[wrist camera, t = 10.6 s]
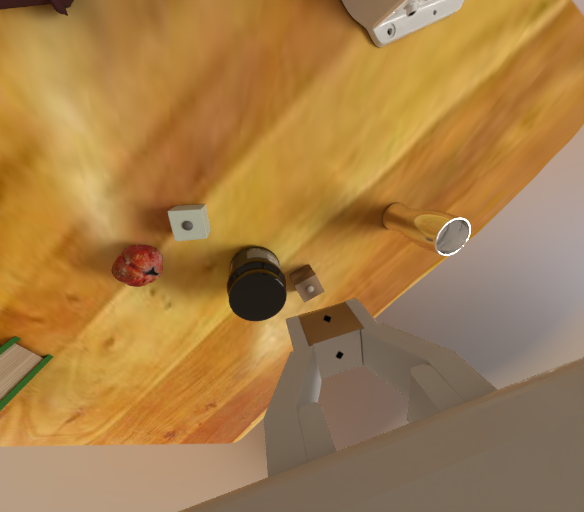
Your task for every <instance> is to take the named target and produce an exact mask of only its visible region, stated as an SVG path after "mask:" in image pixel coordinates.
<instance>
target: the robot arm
mask: <svg viewBox="0 0 584 512" xmlns="http://www.w3.org/2000/svg"><path fill="white" fill-rule="evenodd" d="M342 2H343V4H344V6H345V8H346V9H347V11H348V12H349V14H350V15H351V16H352V17H353V18H354V19H355V20H356V21H357V22H358V23H360V24H361V25H362V26H363V27H365V28H366V30H367V31H368V33H369V35H370V37H371V39H372V40H373V42H374V44H375V45H376V46H378V47H383V46H385V45H387V44H389V43H392V42H394V41H396V40H398V39H400V38H402V37H405V36H407V35H409V34H411V33H413V32H416V31H418V30H420V29H422V28H424V27H426V26H429V25H431V24H433V23H435V22H437V21H440V20H442V19H444V18H446V17H448V16H450V15H452V14H454V13H455V12H456V11H458V10H459V9H460V8H461V6H462V4H463V2H464V0H342ZM387 31H389V33H390V35H388V33H387ZM286 323H287V327H288V330H289V334H290V338H291V342H292V345H293V349H294V351H293V352H290V354H289V357H288V359H287V362H286V364H285V367H284V369H283V372H282V374H281V377H280V379H279V382H278V384H277V387H276V389H275V392H274V394H273V396H272V399H271V401H270V404H269V406H268V409H267V411H266V414H265V416H264V427H265V428H264V429H265V442H266V455H267V469H268V478H265V479H263V480H260V481H258V482H255V483H252V484H250V485H247V486H245V487H242V488H239V489H237V490H234V491H231V492H229V493H226V494H224V495H221V496H218V497H216V498H213V499H211V500H208V501H205V502H202V503H200V504H197V505H195V506H192V507H190V508H187V509H184V510H182V511H179V512H584V357H582V358H579V359H577V360H574V361H572V362H569V363H566V364H564V365H561V366H559V367H556V368H553V369H551V370H548V371H546V372H543V373H540V374H538V375H535V376H532V377H530V378H527V379H525V380H522V381H519V382H517V383H514V384H511V385H509V386H506V387H504V388H501V389H498V390H497V389H496V388H495V387H494V386H493V385H492V384H491V383H489V382H488V381H487V380H486V379H485V378H484V377H483V376H482V375H481V374H479V373H478V372H477V371H476V370H475V369H474V368H473V367H472V366H470V365H469V364H468V363H467V362H466V361H465V360H464V359H463V358H461V357H460V356H459V355H458V354H457V353H456V352H454V351H452V350H450V349H447V348H445V347H442V346H440V345H437V344H434V343H432V342H429V341H427V340H424V339H422V338H419V337H417V336H414V335H412V334H409V333H407V332H404V331H402V330H399V329H397V328H394V327H392V326H389V325H387V324H384V323H380V324H378V323H377V321H376V320H375V319H374V318H373V317H372V316H371V314H370V313H369V312H368V311H367V310H366V308H365V307H364V306H363V305H362V304H361V303H360V301H359V300H358V299H357V298H353V299H350V300H347V301H344V302H341V303H338V304H335V305H332V306H328V307H325V308H322V309H319V310H315V311H311V312H308V313H304V314H301V315H298V316H294V317H291V318H287V319H286ZM362 365H364V367H366V368H367V369H368V370H370V371H371V372H372V373H374V374H375V375H377V376H378V377H380V378H381V379H382V380H384V381H385V382H387V383H388V384H389V385H391V386H392V387H394V388H395V389H397V390H398V391H399V392H401V393H402V394H404V395H405V396H407V397H408V398H409V401H408V414H407V420H408V422H409V424H407V425H404V426H401V427H399V428H396V429H393V430H391V431H389V432H386V433H383V434H380V435H378V436H375V437H372V438H370V439H367V440H365V441H362V442H360V443H357V444H354V445H352V446H349V447H347V448H344V449H341V450H339V451H336V448H335V446H334V442H333V439H332V436H331V433H330V430H329V427H328V425H327V421H326V418H325V415H324V412H323V409H322V406H321V405H320V404H318V398H319V392H320V387H321V380H322V379H324V378H326V377H329V376H332V375H335V374H337V373H340V372H343V371H346V370H349V369H353V368H356V367H359V366H362Z"/></svg>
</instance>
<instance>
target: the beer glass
mask: <svg viewBox="0 0 584 512" xmlns="http://www.w3.org/2000/svg"><path fill="white" fill-rule="evenodd" d="M382 222H383V225H384V226H385V227H386V228H387V229H389V230H395V231H398V232H400V233H401V234H403V235H404V236H405V237H406V238H408V239H409V240H410V241H412V242H413V243H415V244H416V245H418V246H420V247H422V248H424V249H427V250H429V251H432V252H435V253H437V254H440V255H442V256H449V255H452V254H454V253H456V252H458V251H459V250H460V249H461V248H462V247H463V246H464V245H465V244H466V242H467V240H468V238H469V236H470V232H471V227H470V223H469V222H468V220H466V219H465V218H461V217H458V216H455V215H453V214H450V213H446V212H443V211H438V210H432V209H414V208H409V207H407V206H406V205H404V204H402V203H394V204H392V205H390V206H389V207H388V208H387V209H386V210H385V212H384V214H383V218H382Z"/></svg>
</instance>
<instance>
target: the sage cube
mask: <svg viewBox="0 0 584 512" xmlns="http://www.w3.org/2000/svg"><path fill="white" fill-rule="evenodd" d="M167 212H168V216H169V219H170V223H171V227H172V231H173V235H174V238H175V241H184V240H196V239H207V237H208V235H209V233H210V225H209V219H208V214H207V209H206V204H198V205H181V206H175V207H174V208H172V209H170V210H169V211H167Z"/></svg>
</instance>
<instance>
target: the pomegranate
mask: <svg viewBox="0 0 584 512" xmlns="http://www.w3.org/2000/svg"><path fill="white" fill-rule="evenodd" d="M162 263H163V256H162V255H161V253H160V252H159V251H158V250H157V249H156V248H154V247H152V246H147V245H138V246H136V245H132V246H129V247H128V248H126V249H125V251H124V252H123V253H121V254H120V255H119V256H118V258H117V259H116V261H115V263H114V264H113V266H112V273H113V275H114V277H115V278H116V279H117V280H119V281H121V282H123V283H125V284H128V285H129V286H136V287H140V286H144V285H146V284H148V283H151V282H153V281H155V280H156V279H157V278H158V277H159V276H160V275H161V273H162V270H163V266H162Z"/></svg>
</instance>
